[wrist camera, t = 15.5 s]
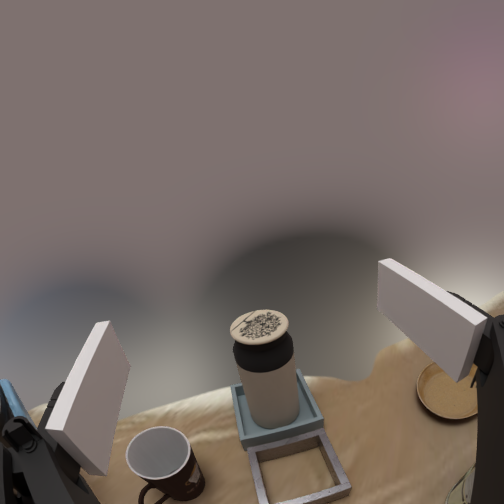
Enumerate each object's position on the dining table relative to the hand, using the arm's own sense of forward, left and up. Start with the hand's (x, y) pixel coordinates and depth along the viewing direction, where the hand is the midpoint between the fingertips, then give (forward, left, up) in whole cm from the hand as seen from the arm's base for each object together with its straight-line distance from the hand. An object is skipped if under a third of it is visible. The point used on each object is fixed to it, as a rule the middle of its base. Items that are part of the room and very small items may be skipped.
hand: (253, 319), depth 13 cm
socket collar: (+2, +6, -32) cm, 33 cm away
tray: (+2, +20, -32) cm, 38 cm away
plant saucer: (+31, +9, -32) cm, 46 cm away
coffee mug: (-15, +8, -32) cm, 36 cm away
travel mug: (+2, +20, -31) cm, 37 cm away
